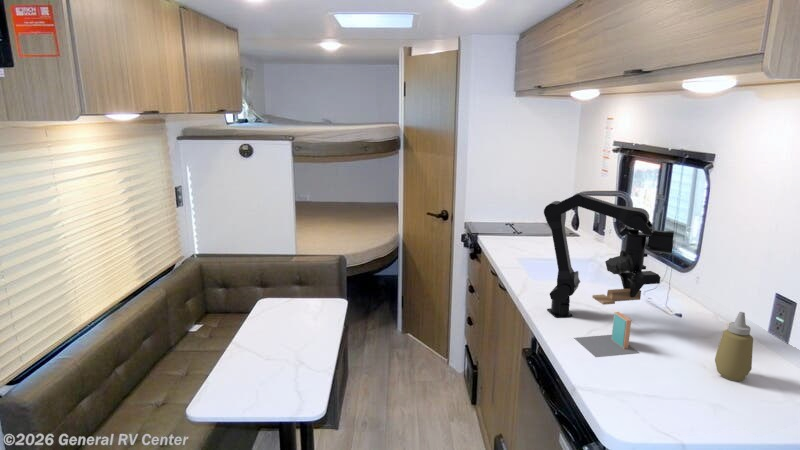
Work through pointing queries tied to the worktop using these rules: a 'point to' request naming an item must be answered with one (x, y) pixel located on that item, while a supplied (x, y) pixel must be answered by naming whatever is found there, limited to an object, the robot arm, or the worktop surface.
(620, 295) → the turner
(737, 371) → the squeeze bottle
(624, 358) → the worktop surface
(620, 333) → the tile
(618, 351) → the mat
